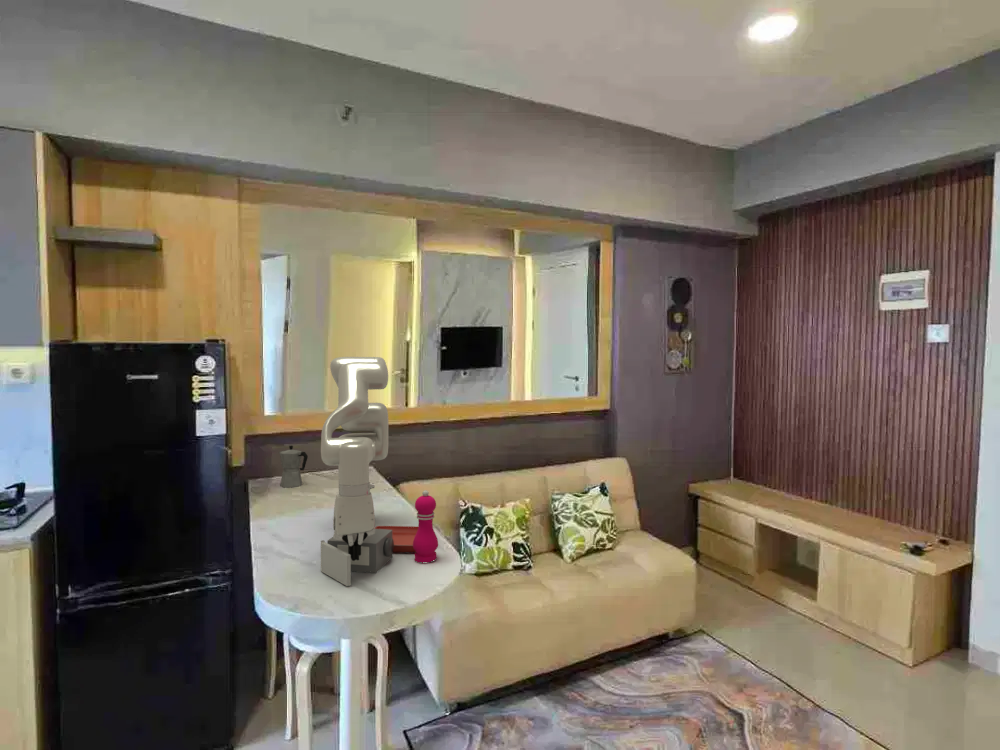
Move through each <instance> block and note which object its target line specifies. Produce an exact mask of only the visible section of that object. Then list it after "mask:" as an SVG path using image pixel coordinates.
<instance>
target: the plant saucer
mask: <svg viewBox="0 0 1000 750" xmlns="http://www.w3.org/2000/svg"><path fill="white" fill-rule="evenodd" d="M374 529H387V530H392V539H393V541H394V549H393V553H405V552H416V551H415V550H414V548H413V541H414V537H415V535H416V533H417V530H418V526H410V525H409V526H407V525H406V526H405V525H404V526H402V525H398V526H397V525H377V526H376V525H375V528H374Z"/></svg>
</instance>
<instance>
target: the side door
mask: <svg viewBox="0 0 1000 750" xmlns="http://www.w3.org/2000/svg"><path fill="white" fill-rule="evenodd" d="M320 571H321V572H322V573H323V574H325V575H327V576H328V577H330V578H332V579H333V580H335V581H337V582H339V583H341V584H342V585H345V586H346V587H350V586H352V585H351V584H352V578H351V576H352V574H351V573H352V571H351V555H350V554H348V553H346V552H344V551H342V550H340V549H338V548H336V547H334V546H332V545H330V544H328V542H325V540H322V539H321V540H320Z"/></svg>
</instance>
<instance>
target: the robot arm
mask: <svg viewBox="0 0 1000 750" xmlns="http://www.w3.org/2000/svg"><path fill="white" fill-rule="evenodd" d="M386 363H387V362H386V360H385V359H384V358H383V357H380V356H379V357H378V356H377V357H376V356H339V357H335V358H333V359H332V360H331V361H330V365H329V368H330V373H331V376H332V378H333V380H334V382H335V384H336V386H337V389H338V390H337V391H338V394H337V395H338V397H337V401H338V405H337V407H336V408H335V409H334V410H333V411H332V412H331V413H330V414H329V415H328V417H327V418H326V419H325V421H324V423H323V425H322V428H321V435H320V436H321V437H320V438H321V439H320V458H321V461H322V463H324V465H326V466H330V467H333V466H335V467H336V466H337V467H338V469H337V470H338V494H336V495H335V499H334V508H333V518H332V520H333V521H332V522H333V523H332V524H333V525H332V528H333V530H334V532H333V535H332V537H333V538H334V539H335V540H344V541H345V542H346V543H347V544H348V554H350V555H351V559H352V561H355V560H359V556H360V555H361V544H362V543H363V541H364V540H365V539H366V537H367V536H370V535H373V534H375V527H376V517H375V508H374V506H375V505H374V499H373V495H372V492H371V490H372V489H375V482H372V483H371V482H370V463H371V462H373V461H382V460H385V459H386V458H387V457H388V455H389V453H388V452H389V413H388V412H389V411H388V408H387V406H386V405H385V404H384V403H381V402H369V390H373V391H374V390H384V389H386V388H387V386H388V383H389V370H388V365H387V364H386ZM340 426H341V427H340ZM339 427H340V428H341V429H342V430H344V431H347V432H357V433H345V434H342V435H340V436H339V437H333V433H334V431H336V429H338V428H339ZM366 431H367V432H366ZM370 431H372V432H370ZM352 534H356V540H355V542H353V537H352Z"/></svg>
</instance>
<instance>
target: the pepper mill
mask: <svg viewBox="0 0 1000 750" xmlns="http://www.w3.org/2000/svg"><path fill="white" fill-rule="evenodd" d="M429 494H430V493H429V490H423V491H422V495H421V496H418V498H416V500H415V502H414V507H415V508H414V509H415V510H416V511H417V513H416V519H418V520H417V521H418V526H417V527H418V530H417V533H416V535H415V537H414V541H413V548H414V550H415V551H416V553H414V561H415V562H416V561H417V563H418V562H422V563H421V564H424V563H423V562H431V561H433V560H435V559H436V558H437V557H438V556H437V552H436V550H437V549H438V547H439V540H438V537H437V535H436V533H435V530H434V526H433V525H434V524H433V521H434V520H433V519H434V518H435V512H434V511H435V510H436V508H437V502H436V500H435V498H434V497H433V496H432V495H429ZM436 560H437V559H436ZM436 560H435V561H436ZM431 563H432V562H431Z"/></svg>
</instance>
